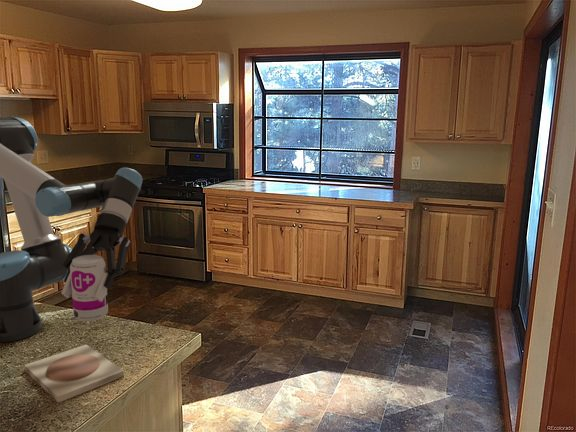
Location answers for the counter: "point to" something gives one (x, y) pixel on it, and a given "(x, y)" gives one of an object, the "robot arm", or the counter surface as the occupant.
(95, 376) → the mount board
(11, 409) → the counter surface
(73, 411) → the counter surface
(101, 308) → the supplement can
